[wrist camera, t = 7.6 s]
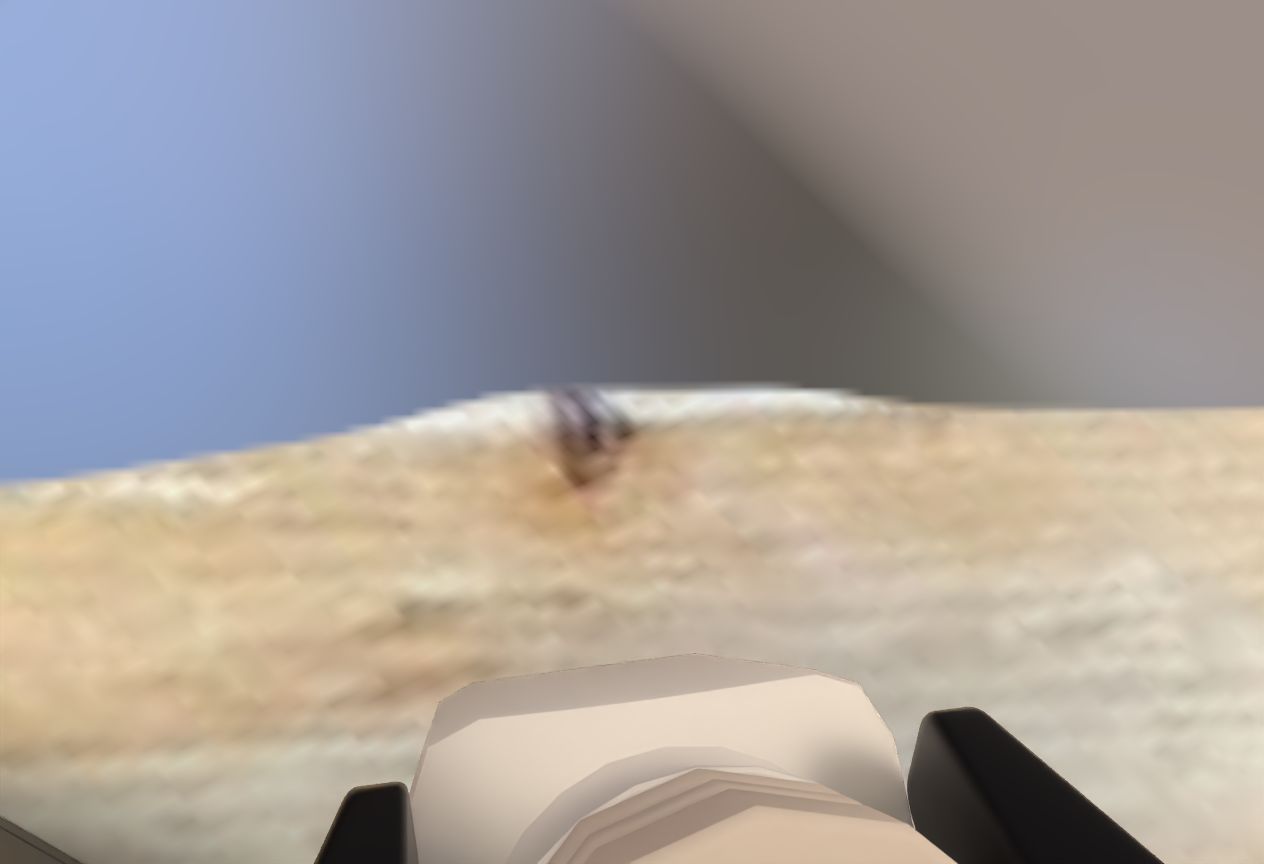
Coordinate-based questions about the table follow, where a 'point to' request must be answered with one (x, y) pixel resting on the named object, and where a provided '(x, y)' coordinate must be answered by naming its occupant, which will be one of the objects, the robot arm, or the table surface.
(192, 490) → the table surface
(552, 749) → the pepper shaker
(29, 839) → the dark grey open box
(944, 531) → the table surface
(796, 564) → the table surface
